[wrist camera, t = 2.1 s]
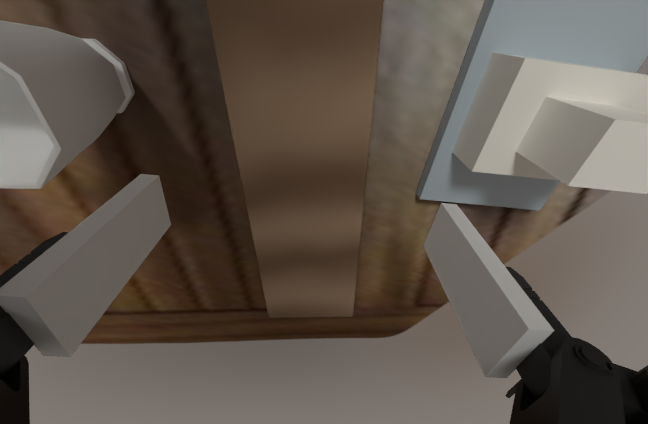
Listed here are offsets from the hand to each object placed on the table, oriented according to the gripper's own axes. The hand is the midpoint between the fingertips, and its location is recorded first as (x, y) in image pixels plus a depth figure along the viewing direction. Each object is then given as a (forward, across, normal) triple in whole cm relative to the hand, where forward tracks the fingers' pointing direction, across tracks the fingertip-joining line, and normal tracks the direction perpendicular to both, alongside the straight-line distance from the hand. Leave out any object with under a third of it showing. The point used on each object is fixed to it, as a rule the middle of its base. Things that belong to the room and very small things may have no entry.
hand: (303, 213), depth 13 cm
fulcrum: (+8, +14, +4) cm, 17 cm away
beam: (+8, 0, 0) cm, 8 cm away
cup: (+8, -15, +3) cm, 17 cm away
